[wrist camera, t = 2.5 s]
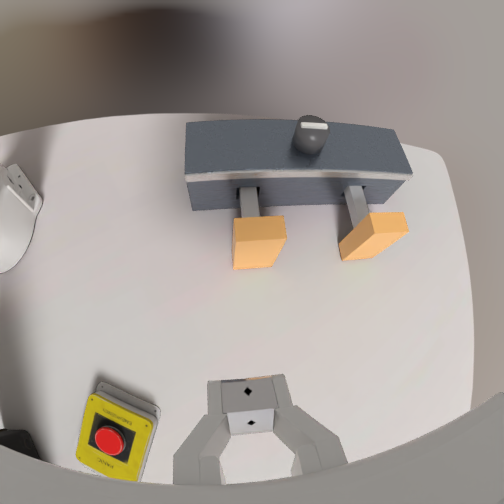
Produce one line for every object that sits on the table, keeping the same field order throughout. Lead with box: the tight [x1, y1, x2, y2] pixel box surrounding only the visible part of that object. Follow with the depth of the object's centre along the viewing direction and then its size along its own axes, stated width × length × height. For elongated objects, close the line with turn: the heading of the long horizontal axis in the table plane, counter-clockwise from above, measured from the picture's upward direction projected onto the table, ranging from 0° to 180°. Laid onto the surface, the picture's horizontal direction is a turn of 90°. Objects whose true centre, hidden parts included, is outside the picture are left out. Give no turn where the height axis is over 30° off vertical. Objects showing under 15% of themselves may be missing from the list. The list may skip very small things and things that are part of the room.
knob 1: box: [232, 187, 287, 270], centre depth 35 cm, size 14×5×10 cm, turn 6°
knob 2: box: [339, 186, 409, 261], centre depth 36 cm, size 14×5×10 cm, turn 6°
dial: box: [292, 115, 330, 155], centre depth 32 cm, size 4×4×3 cm
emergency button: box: [76, 382, 161, 482], centre depth 27 cm, size 9×4×15 cm
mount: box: [185, 119, 413, 211], centre depth 38 cm, size 8×30×10 cm, turn 96°
